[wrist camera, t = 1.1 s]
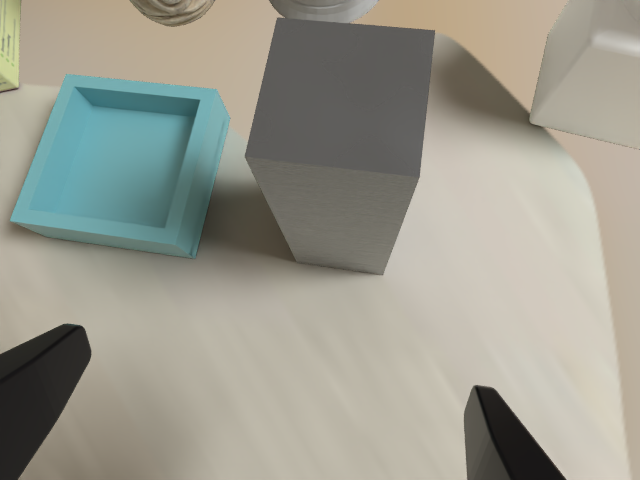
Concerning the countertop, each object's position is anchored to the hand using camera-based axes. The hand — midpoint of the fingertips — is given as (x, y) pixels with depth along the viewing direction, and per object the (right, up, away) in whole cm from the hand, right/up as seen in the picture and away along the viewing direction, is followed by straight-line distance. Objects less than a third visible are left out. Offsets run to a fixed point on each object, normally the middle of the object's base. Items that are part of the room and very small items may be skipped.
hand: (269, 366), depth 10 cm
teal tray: (-10, +7, +17) cm, 21 cm away
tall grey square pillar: (+3, +4, +15) cm, 16 cm away
